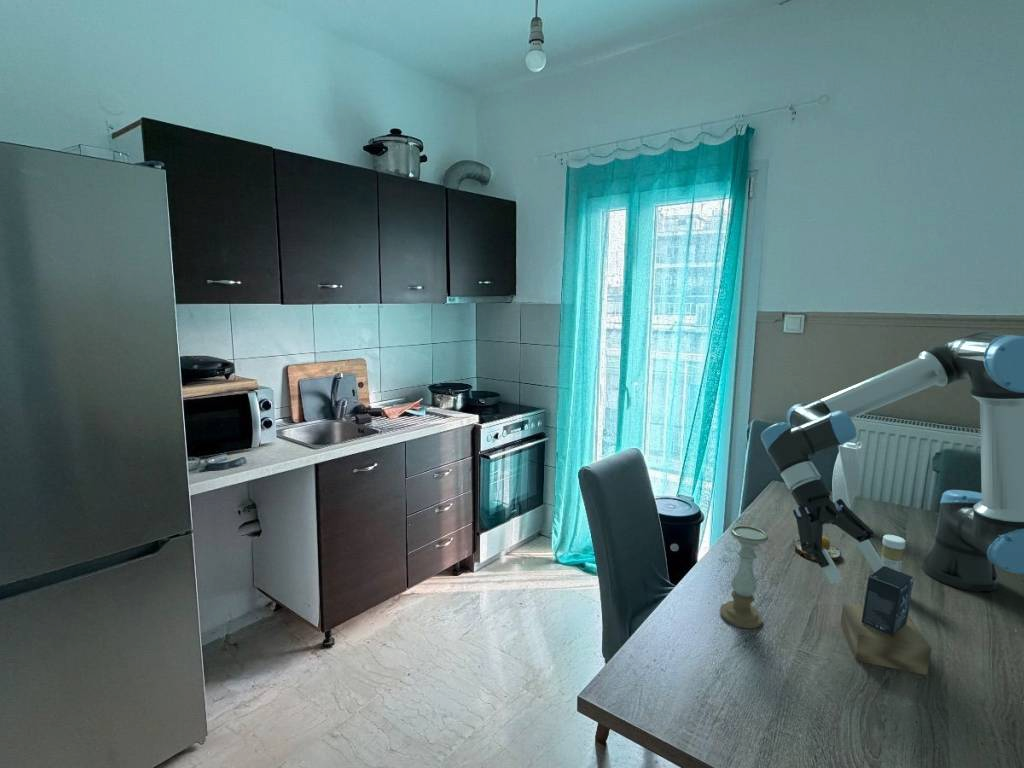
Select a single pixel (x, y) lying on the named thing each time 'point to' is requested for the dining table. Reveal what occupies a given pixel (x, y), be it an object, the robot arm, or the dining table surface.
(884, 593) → the box
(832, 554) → the burger
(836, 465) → the skyscraper
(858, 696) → the dining table surface
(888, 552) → the sprinkles bottle
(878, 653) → the tan square block
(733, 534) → the candle holder
